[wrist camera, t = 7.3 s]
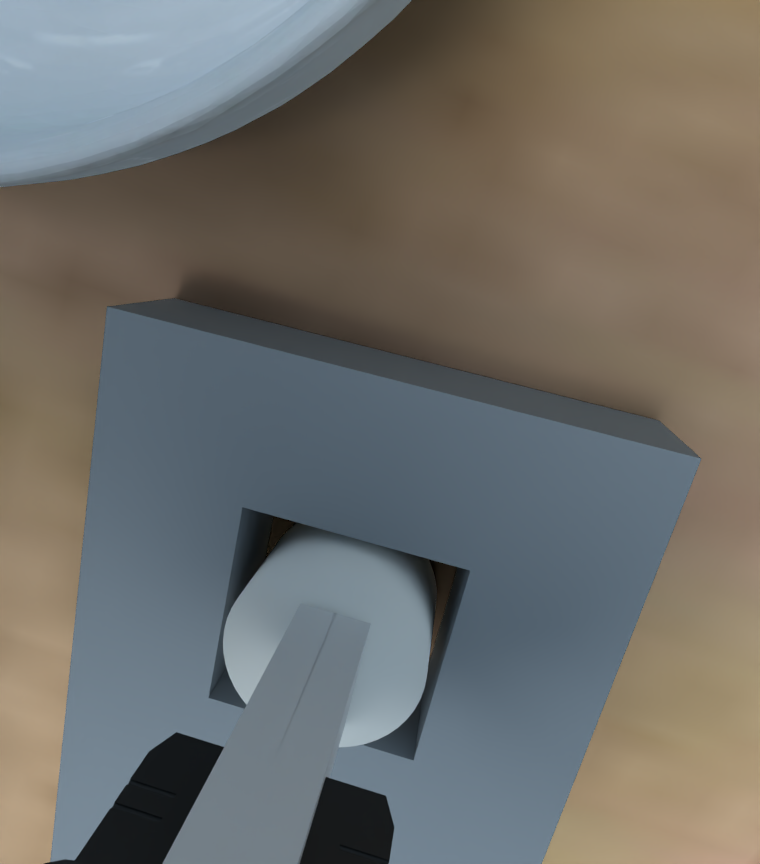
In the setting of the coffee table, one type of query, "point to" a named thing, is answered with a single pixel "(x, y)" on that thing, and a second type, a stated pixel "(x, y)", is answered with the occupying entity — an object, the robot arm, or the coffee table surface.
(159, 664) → the button board
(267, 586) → the button
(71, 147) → the serving bowl
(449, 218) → the coffee table surface
